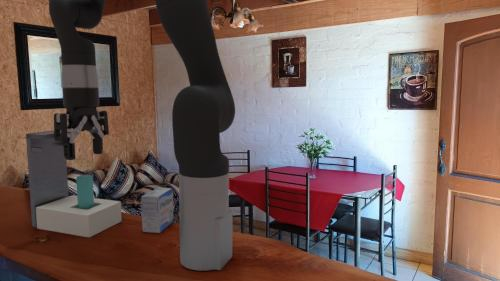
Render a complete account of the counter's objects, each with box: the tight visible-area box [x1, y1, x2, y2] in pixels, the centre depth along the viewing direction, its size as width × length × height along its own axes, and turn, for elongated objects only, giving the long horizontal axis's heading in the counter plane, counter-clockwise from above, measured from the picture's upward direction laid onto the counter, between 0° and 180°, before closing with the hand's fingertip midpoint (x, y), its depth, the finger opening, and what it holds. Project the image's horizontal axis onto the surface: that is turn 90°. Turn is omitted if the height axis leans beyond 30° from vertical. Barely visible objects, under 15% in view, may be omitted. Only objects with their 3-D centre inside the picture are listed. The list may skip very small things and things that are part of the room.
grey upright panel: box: [25, 130, 69, 228], centre depth 91 cm, size 5×10×22 cm, turn 161°
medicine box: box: [141, 187, 174, 234], centre depth 89 cm, size 8×4×9 cm, turn 168°
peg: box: [76, 174, 95, 210], centre depth 88 cm, size 4×4×12 cm
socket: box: [36, 194, 122, 238], centre depth 90 cm, size 15×11×5 cm
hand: (84, 156), depth 87 cm, fingers open, 8 cm apart
